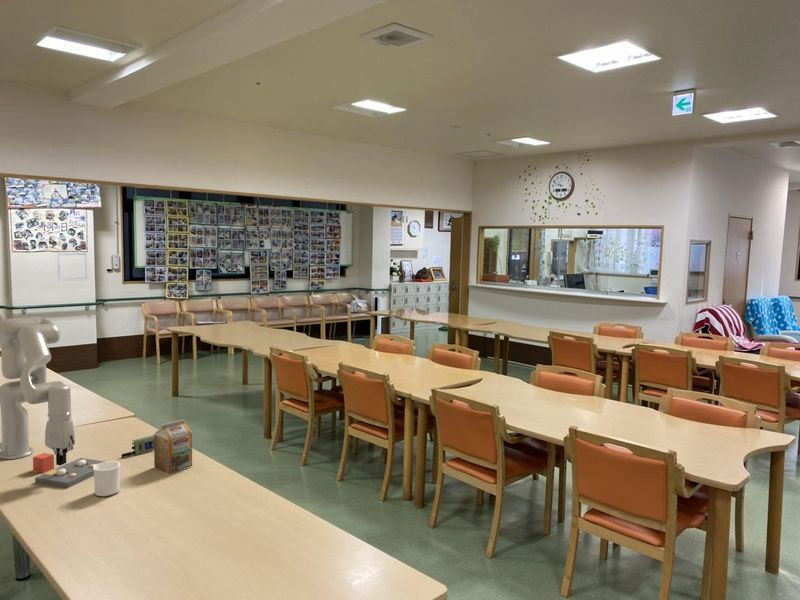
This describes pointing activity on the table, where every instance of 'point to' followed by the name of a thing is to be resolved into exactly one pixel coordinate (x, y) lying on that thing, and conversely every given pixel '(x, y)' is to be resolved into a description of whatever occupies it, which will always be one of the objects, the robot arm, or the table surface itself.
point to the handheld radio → (141, 446)
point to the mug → (106, 478)
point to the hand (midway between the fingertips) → (61, 463)
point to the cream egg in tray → (60, 472)
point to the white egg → (81, 463)
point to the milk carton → (173, 447)
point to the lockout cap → (43, 462)
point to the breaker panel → (69, 474)
